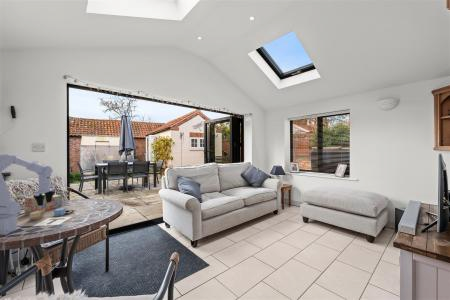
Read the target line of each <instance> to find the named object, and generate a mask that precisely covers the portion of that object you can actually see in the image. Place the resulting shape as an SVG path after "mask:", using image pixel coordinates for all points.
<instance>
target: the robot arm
mask: <svg viewBox="0 0 450 300" xmlns="http://www.w3.org/2000/svg"><path fill="white" fill-rule="evenodd" d="M12 164H13V165H18V166H21V167H24V168H26V170H28V171H29V172H33V173H36V174H37V175H38V191H36V192H34V195H32V196H33V197H34V198H35V199H36V201H37V203H38V206H42V205H43V200H44V197H45V196H46V202H51V200H52V197H53V195H55V192H56V191H55V190H54V187H51V176H52V173H53V172H54V169H52V167H51V166H50V165H49V166H48V165H45V164H42V163H39V162H38V161H27V160H25V159H23V158H20V157H18V156H17V155H13V154H11V153H0V235H8V234H10V233H12V232H14V231H16V230H17V231H18V230H19V229H21V228H22V227H21V226H18V215H19V213H20V211H21V209H22V207H21V205H20V204H19V203H18V201H17V200H15V199H14V198H12V197H11V194H10V191H9V189H8V186H7V184H6V181H5V179H4V176H3V174H2V172H3V171H5V169H7V168H8V167H10V166H11V165H12ZM42 194H45V195H42Z"/></svg>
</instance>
